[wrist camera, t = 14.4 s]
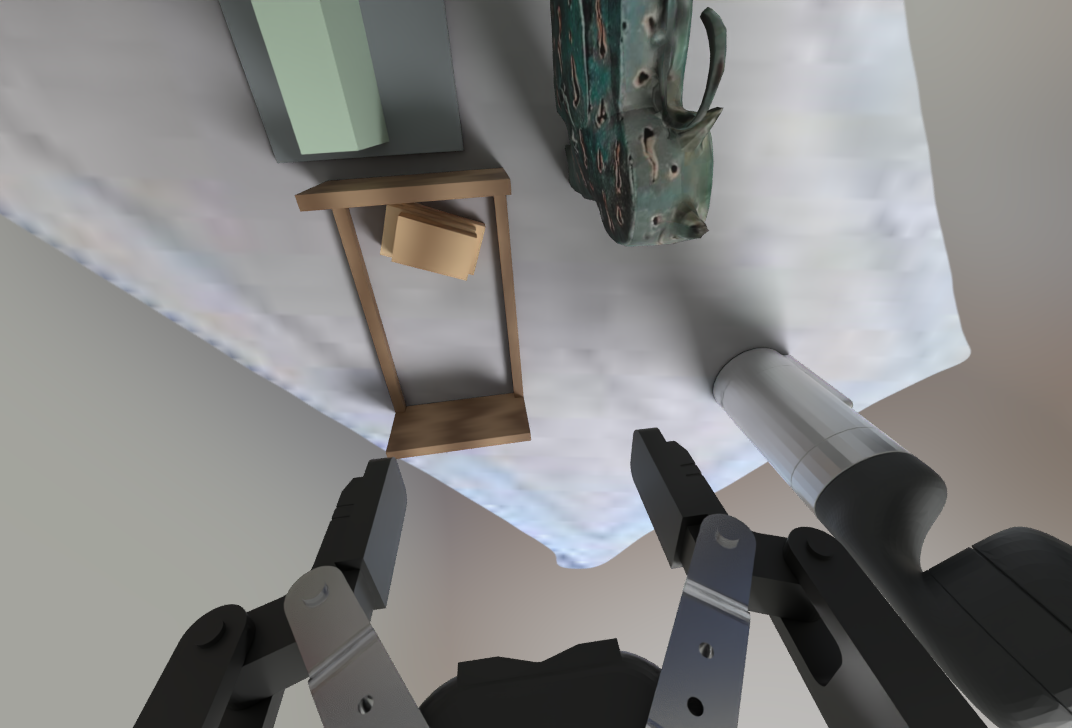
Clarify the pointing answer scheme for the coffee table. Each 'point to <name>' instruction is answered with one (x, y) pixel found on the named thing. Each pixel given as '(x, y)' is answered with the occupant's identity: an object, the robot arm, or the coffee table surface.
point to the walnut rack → (412, 424)
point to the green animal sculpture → (636, 114)
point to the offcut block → (431, 239)
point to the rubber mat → (400, 70)
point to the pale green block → (324, 73)
